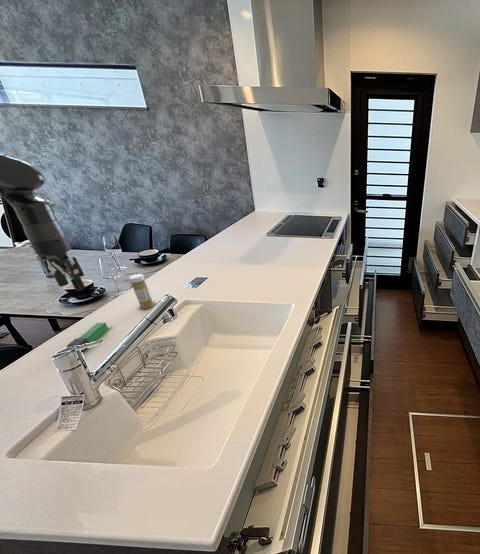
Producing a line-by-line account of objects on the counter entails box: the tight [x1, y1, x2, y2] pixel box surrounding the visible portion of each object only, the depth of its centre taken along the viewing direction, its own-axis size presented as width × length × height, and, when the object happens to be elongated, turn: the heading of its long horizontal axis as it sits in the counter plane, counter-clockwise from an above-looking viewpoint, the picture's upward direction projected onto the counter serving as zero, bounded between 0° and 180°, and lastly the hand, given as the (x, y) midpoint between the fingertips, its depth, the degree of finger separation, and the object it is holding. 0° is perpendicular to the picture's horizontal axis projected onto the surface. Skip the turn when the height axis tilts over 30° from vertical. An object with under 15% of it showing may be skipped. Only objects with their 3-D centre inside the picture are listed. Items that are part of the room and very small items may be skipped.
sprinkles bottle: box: [128, 273, 155, 310], centre depth 119 cm, size 5×5×14 cm
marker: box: [66, 321, 109, 354], centre depth 100 cm, size 13×3×3 cm, turn 8°
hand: (72, 287), depth 93 cm, fingers open, 8 cm apart
